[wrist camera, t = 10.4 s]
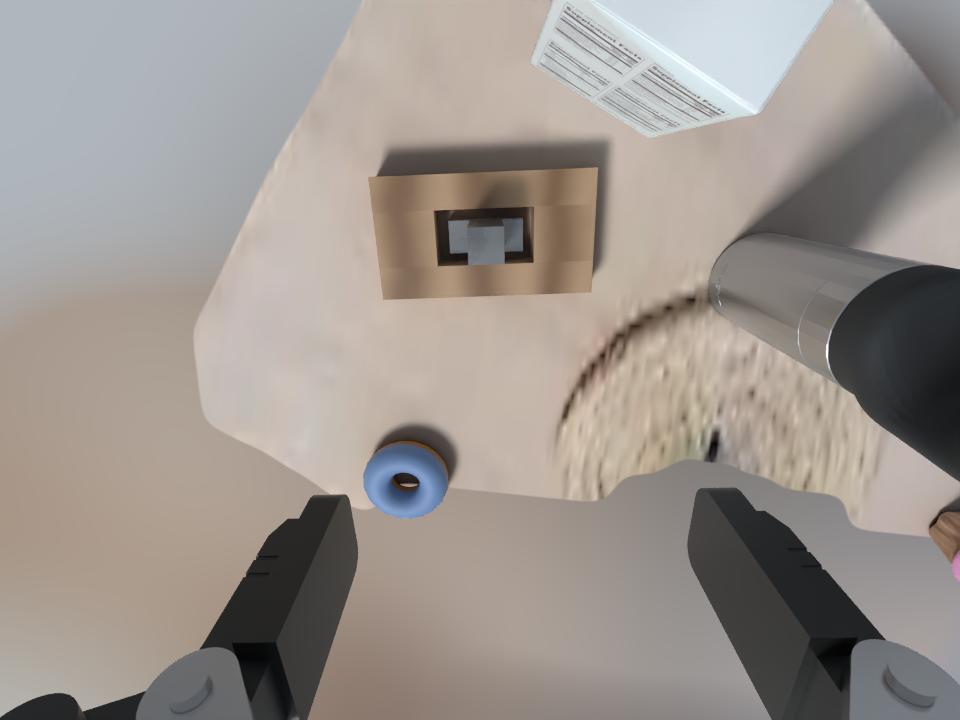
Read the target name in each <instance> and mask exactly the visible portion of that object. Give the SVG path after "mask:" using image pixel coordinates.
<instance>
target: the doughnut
mask: <svg viewBox="0 0 960 720" xmlns="http://www.w3.org/2000/svg"><path fill="white" fill-rule="evenodd" d="M397 473H409V474H412V475H414V476H415V477H417V478H418V480H419V482H420V483H419V485H417V486H414V487H405V486H402V485H400V484H398V483H397V482H396V481H395V480H394V475H395V474H397ZM363 478H364V489H365V491H366V493H367V495H368V498H369V500H370V501H371V502H372V503H373V504H374V505H375V506H376V508H378V509H379V510H381V511H383V512H384V513H386V514H388V515H391V516H394V517H398V518H415V517H420V516H424V515H425V514H427V513H429V512H431V511H433V510H434V509H435V508H436V507H437V506H438V505H439V504H440V503H441V502H442V500H443V498H444V496H445V494H446V491H447V488H448V480H449V474H448V471H447V468H446V465H445V462H444V461H443V460H442V459H441V457H440V456H439V455H438V454H437V452H435V451H434V450H432V449H431V448H429V447H428V446H426V445H424V444H421V443H418V442H415V441H399V442H395V443H390V444H388V445H386V446H384V447H383V448H381V449H379V450H378V451H377V452H376V453H375V454H374V455H373V457H372V458H371V459H370V460H369V462H368V463H367V466H366V469H365V472H364V476H363Z"/></svg>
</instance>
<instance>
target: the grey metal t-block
mask: <svg viewBox="0 0 960 720" xmlns="http://www.w3.org/2000/svg"><path fill="white" fill-rule="evenodd" d="M448 225H449V243H450V253H468V265H491V264H505V254H504V252H510V251H523V218H522V217H511V218H482V219H454V220H449V221H448Z"/></svg>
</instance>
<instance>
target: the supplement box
mask: <svg viewBox="0 0 960 720" xmlns="http://www.w3.org/2000/svg"><path fill="white" fill-rule="evenodd" d="M834 1H835V0H553V1H552V4H551V7H550V9H549V12H548V14H547V17H546V19H545V22H544V25H543V28H542V30H541V33H540V36H539V38H538V41H537V43H536V46H535V48H534V51H533V53H532V55H531V58H530V63H531V64H533V65H534V66H536V67H537V68H539V69H540V70H542V71H543V72H545V73H547V74H548V75H550V76H551V77H553V78H554V79H556V80H558V81H559V82H561V83H562V84H564V85H565V86H567V87H569V88H570V89H572V90H573V91H575V92H576V93H578V94H580V95H581V96H583V97H584V98H586V99H588V100H589V101H591V102H592V103H594V104H595V105H597V106H599V107H600V108H602V109H603V110H605V111H606V112H608V113H610V114H611V115H613V116H614V117H616V118H618V119H619V120H621V121H622V122H624V123H626V124H627V125H629V126H630V127H632V128H634V129H635V130H637V131H638V132H640V133H642V134H643V135H645V136H647V137H648V138H653V137H656V136H660V135H664V134H668V133H673V132H677V131H681V130H685V129H690V128H694V127H699V126H703V125H707V124H712V123H716V122H720V121H725V120H729V119H734V118H739V117H744V116H750V115H755V114H758V113H759V112H760V111H761V110H762V109H763V108H764V106H765V105H766V103H767V102H768V100H769V99H770V97H771V96H772V94H773V93H774V91H775V90H776V88H777V87H778V85H779V84H780V82H781V81H782V79H783V78H784V76H785V75H786V73H787V72H788V70H789V68H790V67H791V65H792V64H793V62H794V61H795V59H796V58H797V56H798V55H799V53H800V52H801V50H802V49H803V47H804V46H805V44H806V43H807V41H808V40H809V38H810V37H811V35H812V34H813V32H814V31H815V29H816V28H817V26H818V25H819V23H820V22H821V20H822V19H823V17H824V16H825V14H826V13H827V11H828V10H829V8H830V7H831V5H832V4H833V2H834Z"/></svg>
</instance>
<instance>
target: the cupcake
mask: <svg viewBox="0 0 960 720" xmlns="http://www.w3.org/2000/svg"><path fill="white" fill-rule="evenodd" d="M929 534H930V536H931V538H932V539H933V541H934V542H935V543H936V545H937V546H938V547H939V548H940V550H941V551H942V552H943V553H944V555H945V556H946V557H947V559H948V561H949V562H950V563H951V565H952V569H953V575H954V576H955V577H956V579H957V580H958V581H959V582H960V512H950V511H947V512H944V513H943V514H941V515H940V516H939V518H938V521H937V522H936V524H934V525H933V526H932V527H931V528H930V529H929Z"/></svg>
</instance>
